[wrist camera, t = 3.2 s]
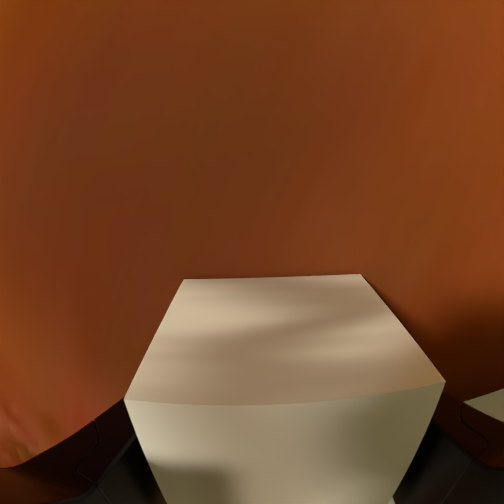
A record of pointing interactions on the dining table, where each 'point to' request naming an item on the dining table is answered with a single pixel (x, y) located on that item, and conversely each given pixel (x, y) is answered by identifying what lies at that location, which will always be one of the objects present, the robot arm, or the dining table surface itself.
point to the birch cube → (281, 393)
